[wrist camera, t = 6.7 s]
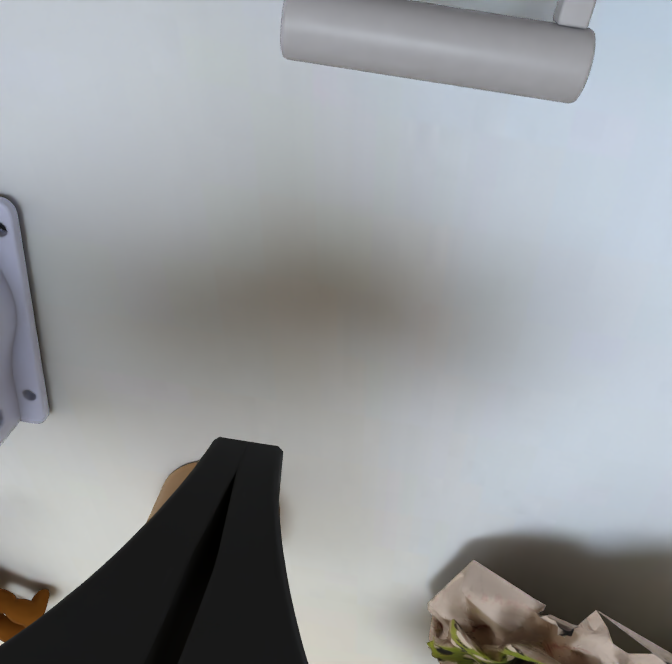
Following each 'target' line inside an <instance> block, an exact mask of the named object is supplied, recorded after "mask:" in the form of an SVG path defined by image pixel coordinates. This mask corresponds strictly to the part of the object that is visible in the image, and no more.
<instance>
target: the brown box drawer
mask: <svg viewBox="0 0 672 664" xmlns="http://www.w3.org/2000/svg"><path fill="white" fill-rule="evenodd" d="M595 3H596V0H558V1H557V5H556V8H555V12H554V15H553V21H555V22H556V23H553V22H546V21H540V20H533V19H527V18H520V17H514V16H507V15H501V14H494V13H488V12H481V11H475V10H468V9H462V8H455V7H449V6H442V5H436V4H429V3H423V2H416V1H410V0H284V4H283V10H282V19H281V34H280V42H281V51H282V55H283V57H284V58H286V59H288V60H294V61H301V62H307V63H314V64H320V65H326V66H333V67H339V68H346V69H352V70H358V71H365V72H371V73H377V74H384V75H390V76H397V77H403V78H409V79H416V80H422V81H429V82H435V83H441V84H448V85H454V86H460V87H467V88H473V89H480V90H486V91H492V92H499V93H505V94H511V95H518V96H524V97H531V98H537V99H543V100H550V101H556V102H563V103H572V102H574V101H576V100H577V98H578V97H579V95H580V94H581V92H582V90H583V88H584V86H585V84H586V82H587V79H588V76H589V73H590V70H591V67H592V63H593V58H594V53H595V33H594V31H593V30H591V29H590V28H587V27H588V26H589V22H590V19H591V16H592V13H593V10H594V7H595Z"/></svg>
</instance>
